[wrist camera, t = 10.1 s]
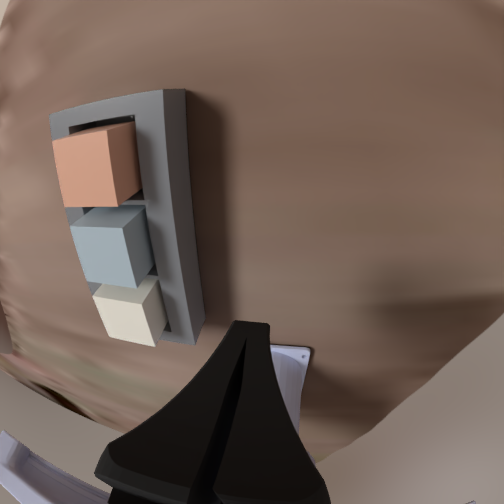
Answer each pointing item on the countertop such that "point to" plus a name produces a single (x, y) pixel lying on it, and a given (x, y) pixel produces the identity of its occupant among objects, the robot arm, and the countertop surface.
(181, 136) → the grey slotted frame
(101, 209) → the key slate
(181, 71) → the countertop surface
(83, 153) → the key terracotta
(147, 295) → the key ivory
